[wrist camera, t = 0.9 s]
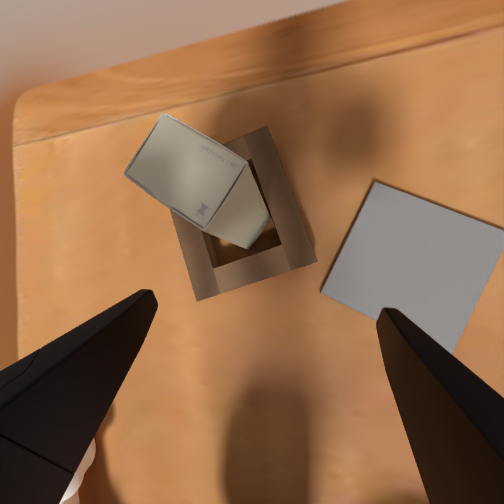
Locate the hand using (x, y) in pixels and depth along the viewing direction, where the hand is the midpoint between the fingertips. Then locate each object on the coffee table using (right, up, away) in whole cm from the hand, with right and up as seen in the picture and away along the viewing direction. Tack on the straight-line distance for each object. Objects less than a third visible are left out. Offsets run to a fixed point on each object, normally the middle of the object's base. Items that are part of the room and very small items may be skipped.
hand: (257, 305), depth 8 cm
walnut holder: (-2, +6, +15) cm, 16 cm away
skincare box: (-2, +6, +15) cm, 16 cm away
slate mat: (+14, +1, +12) cm, 19 cm away
